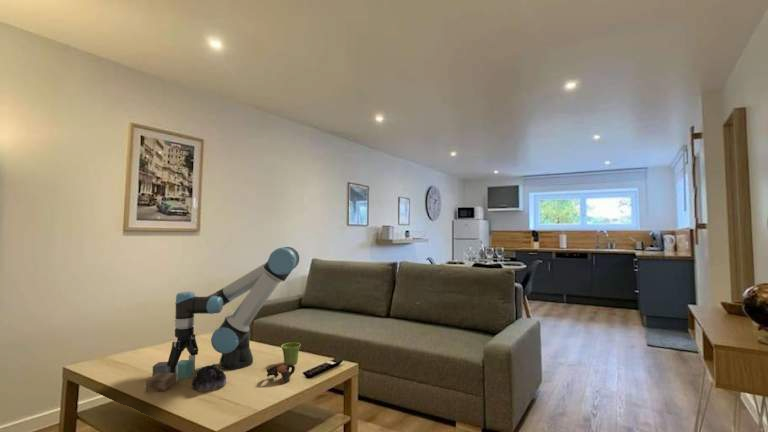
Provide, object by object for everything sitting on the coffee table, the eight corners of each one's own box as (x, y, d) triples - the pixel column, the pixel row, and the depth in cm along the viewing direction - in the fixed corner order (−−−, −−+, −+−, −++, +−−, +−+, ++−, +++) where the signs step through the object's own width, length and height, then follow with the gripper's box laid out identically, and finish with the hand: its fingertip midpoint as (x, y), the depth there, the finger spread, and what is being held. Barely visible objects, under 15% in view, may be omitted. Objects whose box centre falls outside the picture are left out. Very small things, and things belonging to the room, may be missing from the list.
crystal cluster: (203, 381, 166) (200, 358, 166) (233, 378, 166) (231, 356, 165) (186, 396, 152) (183, 372, 152) (219, 394, 152) (217, 369, 152)
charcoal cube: (171, 375, 171) (171, 361, 171) (165, 379, 165) (166, 365, 166) (158, 375, 170) (158, 362, 170) (152, 380, 165) (152, 366, 165)
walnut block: (176, 384, 160) (176, 372, 161) (165, 392, 152) (165, 380, 153) (157, 384, 160) (157, 372, 161) (145, 392, 152) (145, 380, 153)
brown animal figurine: (274, 388, 158) (266, 369, 160) (269, 391, 165) (262, 372, 167) (300, 374, 165) (293, 356, 167) (295, 377, 172) (288, 360, 174)
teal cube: (192, 373, 173) (193, 360, 173) (185, 378, 167) (186, 364, 168) (181, 373, 173) (181, 359, 173) (173, 377, 168) (174, 364, 168)
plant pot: (276, 364, 184) (277, 346, 184) (288, 358, 193) (288, 341, 193) (293, 367, 181) (293, 348, 181) (304, 361, 189) (304, 343, 190)
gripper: (191, 320, 184) (190, 365, 183) (158, 334, 159) (156, 385, 158) (207, 320, 183) (205, 365, 182) (175, 334, 159) (174, 386, 158)
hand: (183, 375), depth 170 cm, fingers open, 13 cm apart
